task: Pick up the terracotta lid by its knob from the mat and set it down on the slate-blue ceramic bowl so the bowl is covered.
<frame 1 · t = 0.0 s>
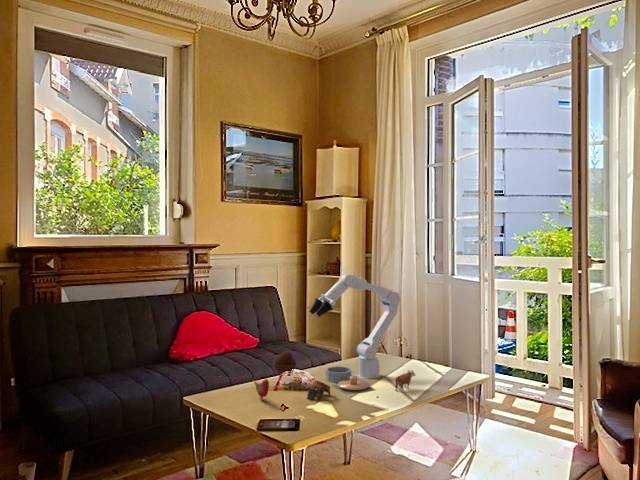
hand: (314, 313, 256), 32 cm above the table, tool tilted 50°, fingers open, 7 cm apart
mat: (353, 388, 248), on the table
bull figurine: (404, 390, 246), on the table
dark brown rounded lump: (284, 383, 257), on the table
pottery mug: (318, 399, 234), on the table
decorative bird figurine: (260, 399, 232), on the table
bowl: (338, 380, 262), on the table
lid: (353, 387, 248), resting on mat
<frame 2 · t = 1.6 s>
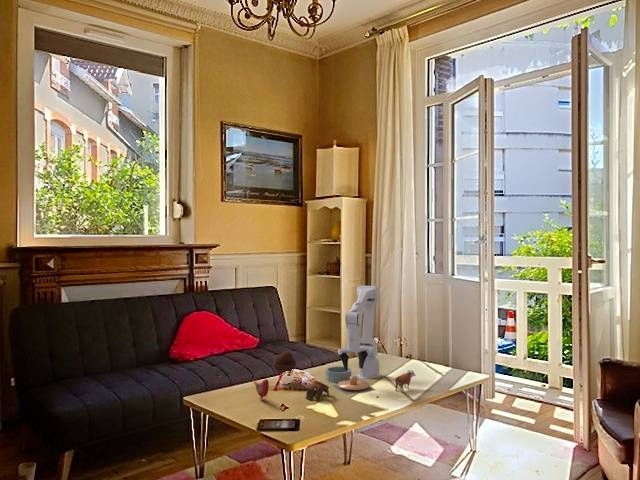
hand: (353, 369, 248), 9 cm above the table, tool pointing down, fingers open, 7 cm apart
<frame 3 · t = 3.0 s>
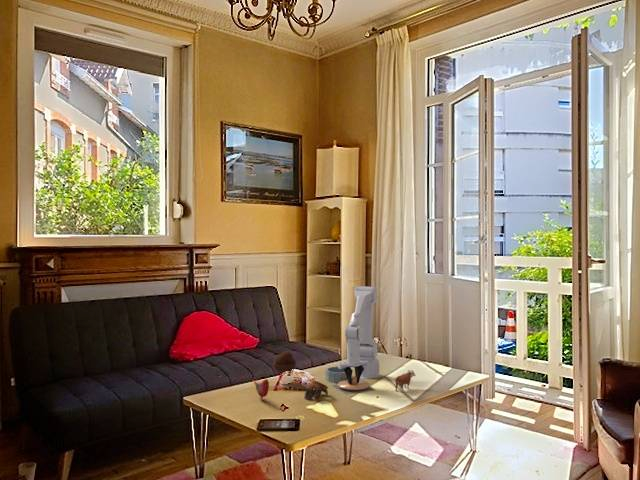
hand: (353, 383, 248), 2 cm above the table, tool pointing down, fingers closed on lid, 3 cm apart
lid: (353, 387, 248), resting on mat, touching gripper
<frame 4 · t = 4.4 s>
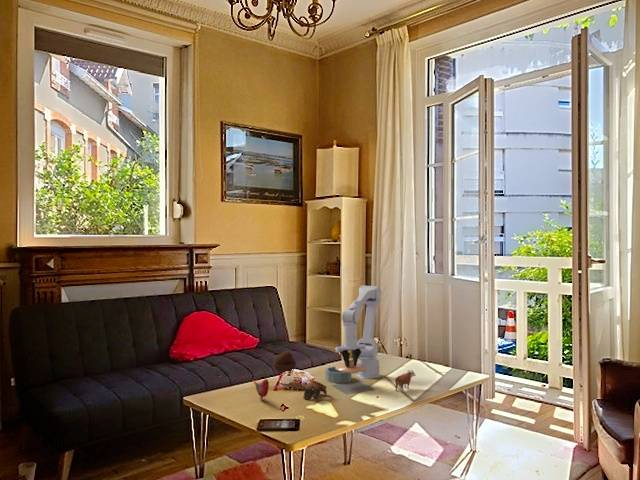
hand: (350, 366, 251), 9 cm above the table, tool pointing down, fingers closed on lid, 3 cm apart
lid: (350, 370, 251), point 7 cm above the table, touching gripper
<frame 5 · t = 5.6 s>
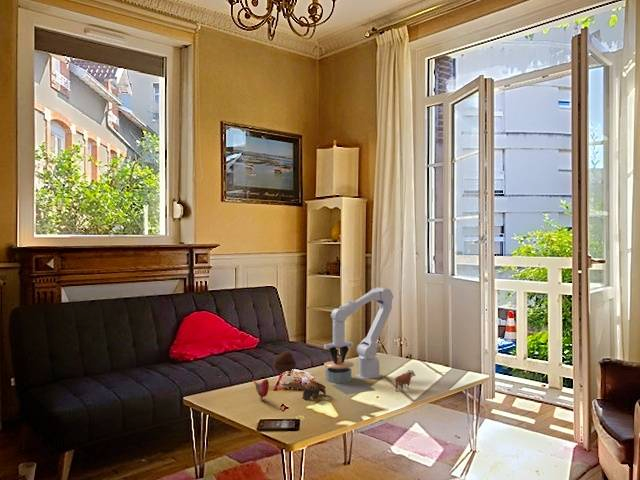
hand: (338, 362, 262), 8 cm above the table, tool pointing down, fingers closed on lid, 3 cm apart
lid: (338, 367, 262), point 6 cm above the table, touching gripper
when the fingers open (7 cm above the table, at t = 6.2 s): lid stays where it is, resting on bowl.
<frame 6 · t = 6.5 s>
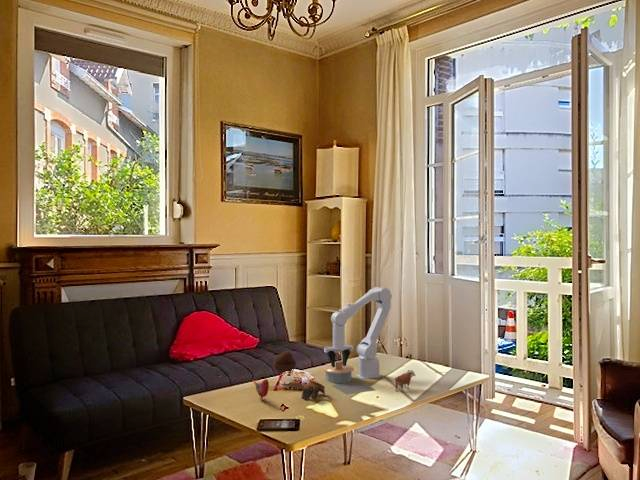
hand: (338, 366, 262), 7 cm above the table, tool pointing down, fingers open, 5 cm apart
lid: (338, 371, 262), point 4 cm above the table, touching bowl
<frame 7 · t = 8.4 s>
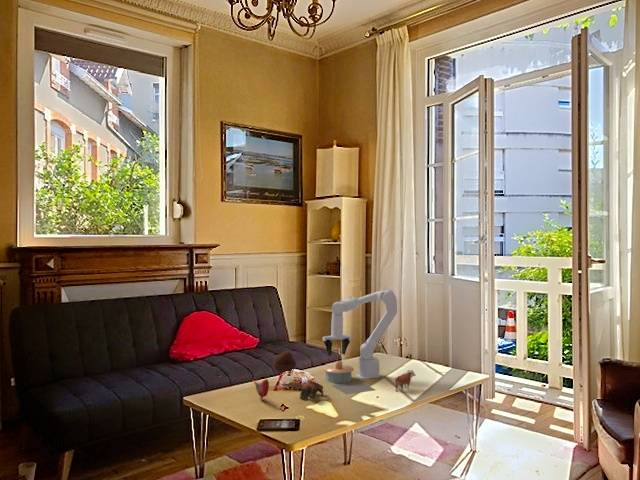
hand: (336, 354, 269), 10 cm above the table, tool pointing down, fingers open, 7 cm apart
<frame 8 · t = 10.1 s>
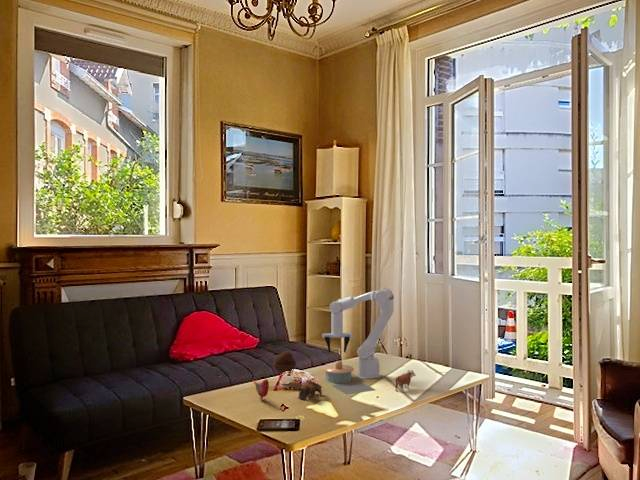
hand: (337, 352, 275), 10 cm above the table, tool pointing down, fingers open, 7 cm apart
at the end: lid 0.2 cm from the bowl (horizontally); lid point 4.0 cm above the table; lid tilted 0° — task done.
